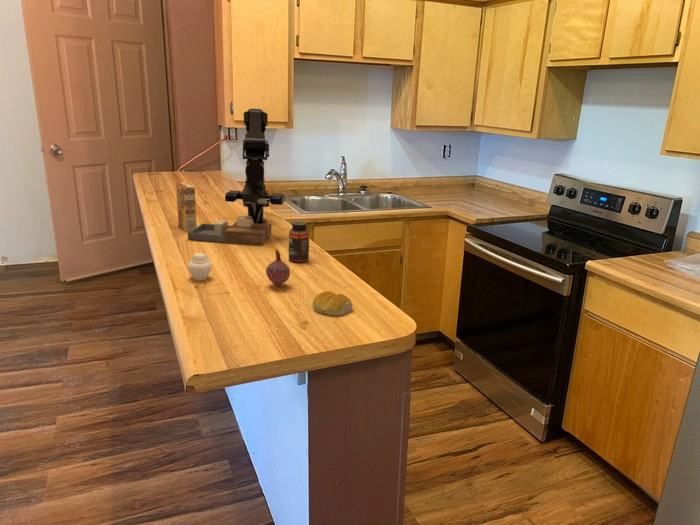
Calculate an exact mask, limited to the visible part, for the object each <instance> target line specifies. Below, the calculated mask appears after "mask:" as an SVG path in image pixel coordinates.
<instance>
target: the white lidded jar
mask: <svg viewBox="0 0 700 525" xmlns="http://www.w3.org/2000/svg"><path fill="white" fill-rule="evenodd" d="M187 268H188V271H189V273H190V275H191V276H192V278H193V279H194V280H196V281H204V280H207V278H208V277H209V275H210V273H211V271H212V269H213V264H212V261H211V260H209V258H208V256H207V254H205V253H203V252H196V253H194V254H193V255H192V258H191V260H190V261H189V262H188V264H187Z"/></svg>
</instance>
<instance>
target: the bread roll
mask: <svg viewBox="0 0 700 525" xmlns="http://www.w3.org/2000/svg"><path fill="white" fill-rule="evenodd" d="M312 307H313V309H314V311H316V313H319V314H325V315H327V316H331V317H340V316H344V315H346V314H348V313H350V312H351V311H352V309H353V303H352V301H351V299H350V298H349V297H348V296H347V295H345V294H343V293H335V292H332V291H323V292H319V293H318V294H316V295H315V296H314V298H313V300H312Z"/></svg>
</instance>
